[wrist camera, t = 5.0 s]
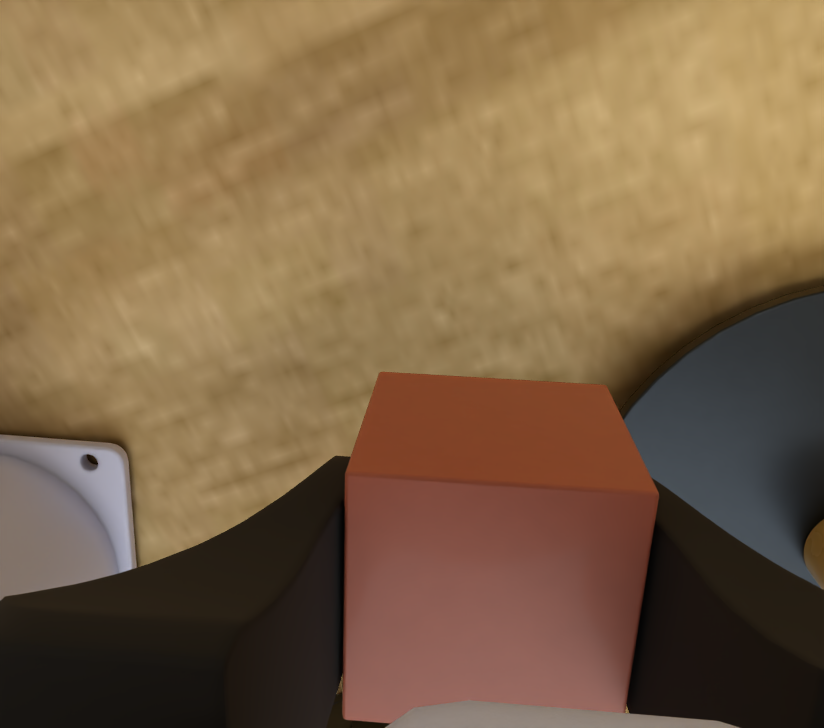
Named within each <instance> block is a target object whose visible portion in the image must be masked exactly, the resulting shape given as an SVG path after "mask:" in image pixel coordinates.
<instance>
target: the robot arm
mask: <svg viewBox="0 0 824 728" xmlns="http://www.w3.org/2000/svg"><path fill="white" fill-rule="evenodd" d="M87 454H90V455H93V456H94V457H95V458H96V459H97V461H98V465H95V464H92V463H91V462H90V461H88V459H87ZM350 458H351V457H345V456H335V457H333V458H332V459H330V460H329V461H328V462H326V463H325V464H324V465H323V466H321V467H320V468H319V469H317V470H316V471H315V472H314V473H312V474H311V475H310V476H309V477H307V478H306V479H305V480H303V481H302V482H301V483H299V484H298V485H297V486H295V487H294V488H293V489H291V490H290V491H289V492H287V493H286V494H285V495H283V496H282V497H281V498H279V499H278V500H276V501H274V502H273V503H271V504H270V505H268V506H267V507H265V508H264V509H262V510H261V511H259V512H258V513H256V514H254V515H253V516H251V517H250V518H248V519H247V520H245V521H243V522H242V523H240V524H238V525H236V526H235V527H233V528H231V529H229V530H227V531H225V532H223V533H221V534H219V535H217V536H215V537H213V538H211V539H209V540H207V541H205V542H203V543H201V544H199V545H196V546H194V547H192V548H189V549H186V550H184V551H181V552H179V553H176V554H173V555H171V556H168V557H166V558H163V559H160V560H158V561H155V562H153V563H150V564H147V565H144V566H141V567H138V568H137V563H136V550H135V537H134V524H133V512H132V499H131V486H130V473H129V461H128V457H127V454H126V452H125V451H124V450H123V448H121V447H120V446H118V445H116V444H113V443H105V442H92V441H79V440H66V439H53V438H40V437H27V436H14V435H1V434H0V728H326V727H327V723H328V719H329V716H330V713H331V710H332V706H333V703H334V700H335V697H336V693H337V690H338V687H339V683H340V680H341V677H342V674H343V605H344V508H345V472H346V469H347V466H348V464H349V461H350ZM652 480H653V482H654V484H655V486H656V488H657V490H658V493H659V500H658V506H657V513H656V519H655V525H654V532H653V538H652V544H651V551H650V557H649V564H648V570H647V576H646V583H645V589H644V595H643V602H642V608H641V614H640V621H639V627H638V634H637V640H636V646H635V653H634V659H633V665H632V672H631V678H630V684H629V691H628V697H627V703H626V704H627V707H628V710H629V713H630V714H628V713H616V712H604V711H592V710H580V709H568V708H556V707H544V706H532V705H520V704H508V703H496V702H484V701H471V700H469V701H461V702H453V703H446V704H438V705H430V706H423V707H415V708H413V709H411V710H410V711H408V712H407V713H405V714H404V715H402V716H401V717H400V718H398V719H397V720H395V721H394V722H392V723H391V724H390V725H388V726H387V727H385V728H824V589H822V588H820V587H818V586H816V585H814V584H812V583H810V582H808V581H806V580H805V579H803V578H801V577H799V576H797V575H795V574H793V573H791V572H790V571H788V570H786V569H784V568H783V567H781V566H779V565H777V564H776V563H774V562H772V561H771V560H769V559H768V558H766V557H764V556H763V555H761V554H760V553H758V552H757V551H755V550H753V549H752V548H750V547H749V546H747V545H746V544H744V543H742V542H741V541H740V540H738V539H737V538H735V537H734V536H732V535H731V534H729V533H728V532H726V531H725V530H723V529H722V528H721V527H719V526H718V525H716V524H715V523H714V522H712V521H711V520H710V519H708V518H707V517H705V516H704V515H703V514H701V513H700V512H699V511H697V510H696V509H695V508H693V507H692V506H691V505H689V504H688V503H687V502H685V501H684V500H683V499H681V498H680V497H679V496H677V495H676V494H674V493H673V492H672V491H670V490H669V489H668V488H666V487H665V486H663V485H662V484H661V483H659V482H657V481H656V480H654V479H653V478H652Z"/></svg>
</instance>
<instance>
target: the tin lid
mask: <svg viewBox="0 0 824 728" xmlns="http://www.w3.org/2000/svg"><path fill="white" fill-rule="evenodd" d="M620 414H621V416H622V418H623V421H624V423H625V425H626V427H627V429H628V431H629V433H630V435H631V437H632V439H633V441H634V443H635V445H636V447H637V449H638V451H639V453H640V456H641V458H642V460H643V462H644V464H645V466H646V468H647V470H648V472H649V474H650V476H651V478H653V479H654V480H656V481H657V482H659V483H661V484H662V485H663V486H665V487H666V488H668V489H669V490H670V491H672V492H673V493H674V494H676V495H677V496H679V497H680V498H681V499H683V500H684V501H685V502H687V503H688V504H689V505H691V506H692V507H693V508H695V509H696V510H697V511H699V512H700V513H701V514H703V515H704V516H705V517H707V518H708V519H710V520H711V521H712V522H714V523H715V524H716V525H718V526H719V527H721V528H722V529H723V530H725V531H726V532H728V533H729V534H731V535H732V536H734V537H735V538H737V539H738V540H740V541H741V542H742V543H744V544H746V545H747V546H749V547H750V548H752V549H753V550H755V551H757V552H758V553H760V554H761V555H763V556H764V557H766V558H768V559H769V560H771V561H772V562H774V563H776V564H777V565H779V566H781V567H783V568H784V569H786V570H788V571H790V572H791V573H793V574H795V575H797V576H799V577H801V578H803V579H805V580H806V581H808V582H810V583H812V584H814V585H816V586H818V587H820V588H822V589H824V286H820V287H816V288H812V289H808V290H804V291H799V292H795V293H791V294H788V295H785V296H782V297H780V298H777V299H774V300H772V301H769V302H766V303H763V304H761V305H758V306H755V307H753V308H750V309H748V310H746V311H744V312H742V313H740V314H738V315H736V316H734V317H732V318H730V319H728V320H727V321H725V322H723V323H721V324H719V325H717V326H715V327H713V328H712V329H710V330H709V331H707V332H706V333H704V334H703V335H701V336H700V337H698V338H697V339H695V340H694V341H692V342H691V343H689V344H688V345H686V346H685V347H683V348H682V349H680V350H679V351H678V352H677V353H676V354H675V355H673V356H672V357H671V358H670V359H669V360H668V361H666V362H665V363H664V364H663V365H662V366H660V367H659V368H658V369H657V370H656V371H655V372H653V373H652V374H651V376H650V377H649V378H648V379H647V380H646V381H645V382H644V383H643V384H642V385H641V386H640V387H639V389H638V390H637V391H636V392H635V393H634V394H633V395H632V396H631V397H630V398H629V399H628V401H627V402H626V404H625V405H624V406H623V408H622V409H621V411H620Z"/></svg>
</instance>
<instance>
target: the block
mask: <svg viewBox="0 0 824 728" xmlns="http://www.w3.org/2000/svg"><path fill="white" fill-rule="evenodd" d="M658 500H659V493H658V490H657V488H656V486H655V484H654V482H653V480H652V478H651V476H650V474H649V472H648V470H647V468H646V466H645V464H644V462H643V460H642V458H641V456H640V453H639V451H638V449H637V447H636V445H635V443H634V441H633V439H632V437H631V435H630V433H629V431H628V429H627V427H626V425H625V423H624V421H623V418H622V416H621V414H620V412H619V410H618V408H617V406H616V404H615V402H614V400H613V398H612V396H611V394H610V392H609V390H608V388H607V386H606V385H597V384H580V383H563V382H546V381H529V380H512V379H495V378H478V377H461V376H445V375H428V374H411V373H394V372H380V373H379V375H378V378H377V381H376V384H375V387H374V390H373V393H372V396H371V399H370V402H369V405H368V408H367V411H366V414H365V416H364V419H363V422H362V425H361V428H360V431H359V434H358V437H357V440H356V443H355V446H354V449H353V452H352V455H351V458H350V461H349V464H348V466H347V469H346V472H345V508H344V605H343V701H342V715H343V718H344V719H346V720H356V721H368V722H380V723H392V722H394V721H395V720H397V719H398V718H400V717H401V716H402V715H404V714H405V713H407V712H408V711H410V710H411V709H413V708H415V707H423V706H430V705H438V704H446V703H453V702H461V701H469V700H471V701H484V702H496V703H508V704H520V705H532V706H544V707H556V708H568V709H580V710H592V711H604V712H616V713H625V710H626V703H627V697H628V691H629V684H630V678H631V672H632V665H633V659H634V653H635V646H636V640H637V634H638V627H639V621H640V614H641V608H642V602H643V595H644V589H645V583H646V576H647V570H648V564H649V557H650V551H651V544H652V538H653V532H654V525H655V519H656V513H657V506H658Z"/></svg>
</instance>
